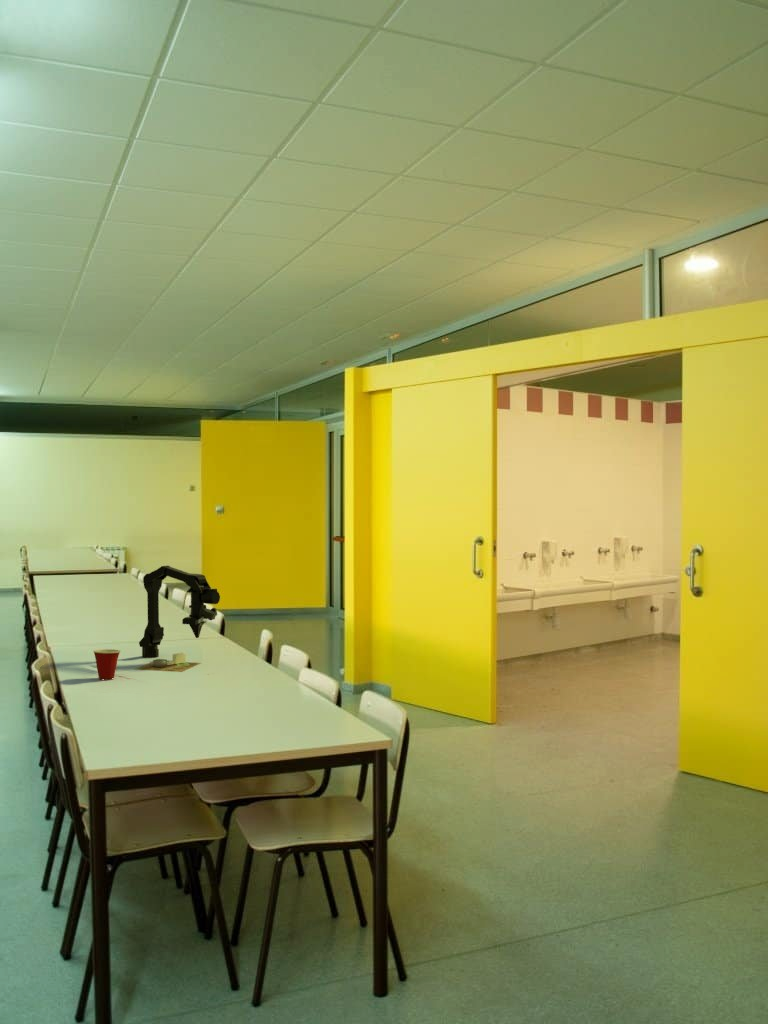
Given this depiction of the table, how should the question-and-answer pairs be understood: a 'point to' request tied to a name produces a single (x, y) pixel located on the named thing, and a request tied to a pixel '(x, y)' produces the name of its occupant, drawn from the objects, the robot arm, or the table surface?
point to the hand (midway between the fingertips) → (197, 637)
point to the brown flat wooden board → (169, 667)
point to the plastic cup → (106, 662)
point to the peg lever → (176, 660)
